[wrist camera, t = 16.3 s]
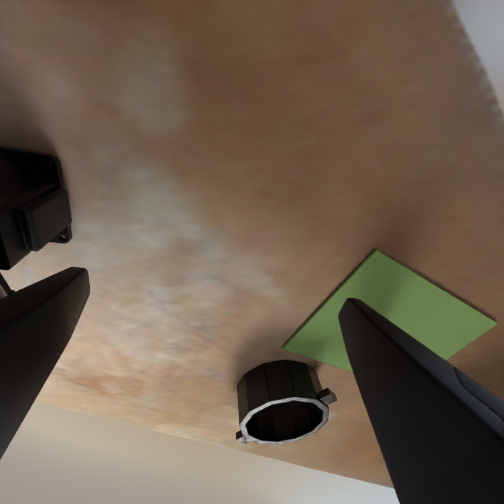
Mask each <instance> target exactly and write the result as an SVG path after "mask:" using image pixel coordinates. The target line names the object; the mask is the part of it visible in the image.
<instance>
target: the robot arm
mask: <svg viewBox="0 0 504 504" xmlns="http://www.w3.org/2000/svg"><path fill="white" fill-rule="evenodd" d="M47 159H49V160H50V161H51V162H52V165H50V164H48V162H47ZM71 222H72V218H71V212H70V206H69V199H68V193H67V190H66V189H65V188H64V184H63V178H62V172H61V166H60V162H59V160H58V158H57V157H56V156H54V155H52V154H48V153H42V152H37V151H31V150H25V149H20V148H14V147H8V146H2V145H0V270H9V269H11V268H12V267H13V266H14V265H16V264H17V263H18V262H19V261H20V260H22V259H23V258H24V257H25V256H26V255H28V254H29V253H30V252H31V251H39V250H40V249H41V248H43V247H44V246H45V245H46V244H47V243H48V242H55V243H68V242H69V241H70V240H71V238H72V233H71V227H70V223H71ZM61 235H64V236H65V238H63V237H62V236H61ZM89 294H90V283H89V275H88V271H87V269H85V268H79V267H70V268H68V269H65V270H63V271H61V272H59V273H56V274H54V275H52V276H50V277H47V278H45V279H43V280H41V281H39V282H36V283H34V284H32V285H30V286H27V287H25V288H23V289H21V290H18V291H16V292H15V291H14V290H11V289H10V287H9V285H8V284H7V282H6V281H5V279H4V278H3V276H2V274H1V273H0V459H1V457H2V456H3V454H4V453H5V451H6V449H7V447H8V446H9V444H10V442H11V441H12V439H13V437H14V435H15V434H16V432H17V430H18V428H19V427H20V425H21V423H22V422H23V420H24V418H25V416H26V415H27V413H28V411H29V410H30V408H31V406H32V404H33V403H34V401H35V399H36V397H37V396H38V394H39V392H40V391H41V389H42V387H43V385H44V384H45V382H46V380H47V379H48V377H49V375H50V373H51V372H52V370H53V368H54V366H55V365H56V363H57V361H58V360H59V358H60V356H61V354H62V353H63V351H64V349H65V348H66V346H67V344H68V342H69V340H70V338H71V336H72V334H73V332H74V330H75V327H76V325H77V323H78V320H79V318H80V316H81V313H82V311H83V309H84V306H85V304H86V302H87V299H88V297H89ZM338 320H339V324H340V328H341V332H342V336H343V340H344V344H345V349H346V352H347V356H348V359H349V362H350V365H351V368H352V371H353V373H354V376H355V379H356V382H357V385H358V387H359V390H360V393H361V396H362V399H363V402H364V404H365V407H366V410H367V413H368V416H369V418H370V421H371V424H372V427H373V430H374V432H375V435H376V438H377V441H378V444H379V447H380V449H381V452H382V455H383V458H384V461H385V463H386V466H387V469H388V472H389V475H390V478H391V480H392V483H393V486H394V489H395V491H396V494H397V497H398V500H399V503H400V504H504V400H502V399H501V398H499V397H498V396H496V395H495V394H493V393H492V392H490V391H489V390H487V389H486V388H484V387H483V386H481V385H480V384H478V383H477V382H476V381H474V380H473V379H471V378H470V377H468V376H467V375H465V374H464V373H463V372H461V371H460V370H458V369H457V368H456V367H454V366H452V365H451V364H450V363H449V362H447V361H446V360H444V359H443V358H441V357H440V356H439V355H437V354H436V353H434V352H433V351H432V350H430V349H429V348H427V347H426V346H425V345H423V344H422V343H420V342H419V341H418V340H416V339H415V338H413V337H412V336H411V335H409V334H408V333H406V332H405V331H404V330H402V329H401V328H399V327H398V326H396V325H395V324H394V323H392V322H391V321H389V320H388V319H387V318H385V317H384V316H382V315H381V314H380V313H378V312H377V311H375V310H374V309H373V308H371V307H370V306H368V305H367V304H366V303H364V302H363V301H361V300H360V299H358V298H347V299H346V300H345V302H344V304H343V306H342V308H341V310H340V312H339V314H338Z"/></svg>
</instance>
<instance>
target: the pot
mask: <svg viewBox="0 0 504 504" xmlns="http://www.w3.org/2000/svg"><path fill="white" fill-rule="evenodd" d="M237 393H238V410H239V425H240V428H241V431H239V432H236V440H238V441H240V442H242V443H244V444H246V443H248V442H250V441H254V442H256V443H266V444H281V443H287V442H292V441H297V440H300V439H302V438H304V437H307V436H309V435H311V434H313V433H316V432H317V431H318V430H319V429H320V428H321V427H322V426H323V425H324V424H325V423H326V422H327V421H328V416H329V407H328V405H329V404H331V403H333V402H335V401H337V398H336V396H335V394H334V393H333V392H332V391H331V390H330V389H329V388H326V389H324V390H322V387H321V384H320V381H319V379H318V376H317V373H316V372H315V371H314V370H313V369H312V368H310V367H309V366H308V365H307V364H306V363H301V362H296V361H290V360H282V361H277V362H271V363H265V364H262V365H260V366H258V367H257V368H255V369H253V370H251V371H249V372H248V373H246V374H245V375H244V377H243V378H242V380H241V381H240V383H239V385H238V386H237ZM287 401H290V402H287ZM282 402H287V403H282ZM276 403H281V404H276ZM272 404H276V405H272Z"/></svg>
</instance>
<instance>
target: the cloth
mask: <svg viewBox="0 0 504 504" xmlns="http://www.w3.org/2000/svg"><path fill="white" fill-rule="evenodd" d="M347 298H358V299H360V300H361V301H363V302H364V303H366V304H367V305H368V306H370V307H371V308H373V309H374V310H375V311H377V312H378V313H380V314H381V315H382V316H384V317H385V318H387V319H388V320H389V321H391V322H392V323H394V324H395V325H396V326H398V327H399V328H401V329H402V330H404V331H405V332H406V333H408V334H409V335H411V336H412V337H413V338H415V339H416V340H418V341H419V342H420V343H422V344H423V345H425V346H426V347H427V348H429V349H430V350H432V351H433V352H434V353H436V354H437V355H439V356H440V357H441V358H443V359H444V360H447V359H448V358H449V357H451V356H452V355H454V354H455V353H456V352H458V351H459V350H461V349H462V348H464V347H465V346H466V345H468V344H469V343H471V342H472V341H473V340H475V339H476V338H478V337H479V336H481V335H482V334H483V333H485V332H486V331H488V330H489V329H490V328H492V327H493V326H495V325H496V324H498V323H497V322H496V321H494V320H492V319H491V318H489V317H487V316H486V315H484V314H482V313H481V312H479V311H477V310H476V309H474V308H472V307H471V306H469V305H467V304H466V303H464V302H463V301H461V300H459V299H458V298H456V297H454V296H453V295H451V294H449V293H448V292H446V291H444V290H443V289H441V288H439V287H438V286H436V285H434V284H433V283H431V282H429V281H428V280H426V279H424V278H423V277H421V276H420V275H418V274H416V273H415V272H413V271H411V270H410V269H408V268H406V267H405V266H403V265H401V264H400V263H398V262H396V261H395V260H393V259H391V258H390V257H388V256H386V255H385V254H383V253H382V252H380V251H378V250H377V249H374V250H373V252H372V253H371V254H370V255H369V256H368V257H367V258H366V259H365V260H364V261H363V262H362V263H361V264H360V265H359V266H358V267H357V268H356V269H355V271H354V272H353V273H352V274H351V275H350V276H349V277H348V278H347V279H346V280H345V281H344V282H343V283H342V284H341V285H340V286H339V287H338V288H337V290H336V291H335V292H334V293H333V294H332V295H331V296H330V297H329V298H328V299H327V300H326V301H325V302H324V303H323V304H322V305H321V306H320V307H319V309H318V310H317V311H316V312H315V313H314V314H313V315H312V316H311V317H310V318H309V319H308V320H307V321H306V322H305V323H304V324H303V325H302V327H301V328H300V329H299V330H298V331H297V332H296V333H295V334H294V335H293V336H292V337H291V338H290V339H289V340H288V341H287V342H286V343H285V344H284V346H283V347H282V348H283V349H284V350H287V351H290V352H293V353H296V354H299V355H302V356H305V357H308V358H311V359H314V360H317V361H320V362H323V363H326V364H329V365H332V366H335V367H338V368H341V369H344V370H347V371H350V372H353V371H352V368H351V365H350V362H349V359H348V356H347V352H346V349H345V344H344V340H343V336H342V332H341V328H340V324H339V320H338V314H339V312H340V310H341V308H342V306H343V304H344V302H345V300H346V299H347Z"/></svg>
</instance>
